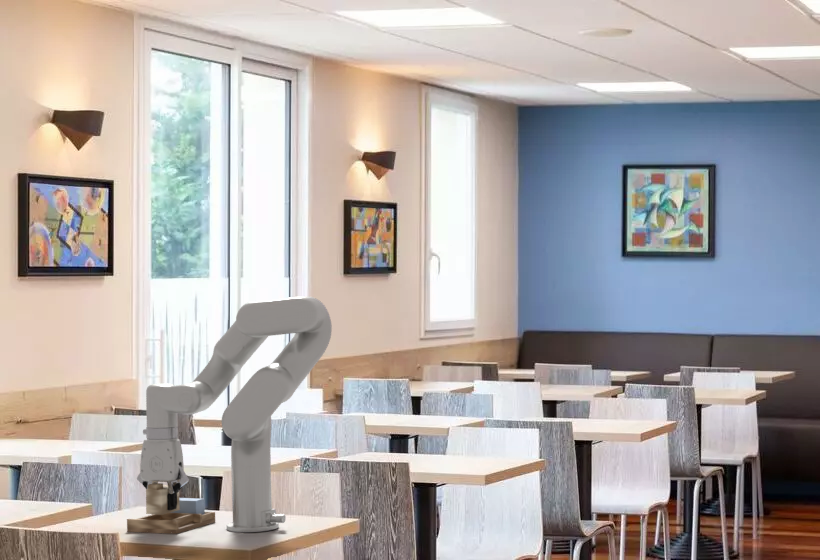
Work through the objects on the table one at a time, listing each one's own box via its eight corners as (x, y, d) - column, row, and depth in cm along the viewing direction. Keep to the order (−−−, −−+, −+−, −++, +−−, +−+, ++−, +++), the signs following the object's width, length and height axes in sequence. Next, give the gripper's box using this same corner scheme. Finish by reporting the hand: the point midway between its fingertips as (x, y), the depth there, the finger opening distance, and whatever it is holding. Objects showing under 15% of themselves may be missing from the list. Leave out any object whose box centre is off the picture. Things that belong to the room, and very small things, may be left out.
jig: (215, 522, 360) (215, 510, 360) (176, 533, 343) (176, 521, 343) (167, 520, 365) (167, 508, 365) (127, 531, 349) (126, 519, 349)
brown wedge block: (179, 509, 354) (179, 480, 354) (160, 515, 346) (159, 485, 346) (164, 509, 356) (163, 480, 356) (144, 514, 348) (144, 484, 348)
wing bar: (204, 518, 359) (204, 498, 359) (196, 521, 356) (195, 501, 356) (170, 517, 363) (170, 497, 363) (161, 519, 359) (161, 499, 360)
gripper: (124, 434, 351) (125, 509, 351) (183, 436, 345) (184, 513, 345) (141, 432, 358) (142, 505, 358) (200, 433, 352) (200, 508, 352)
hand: (163, 508), depth 351 cm, fingers closed on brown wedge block, 4 cm apart
